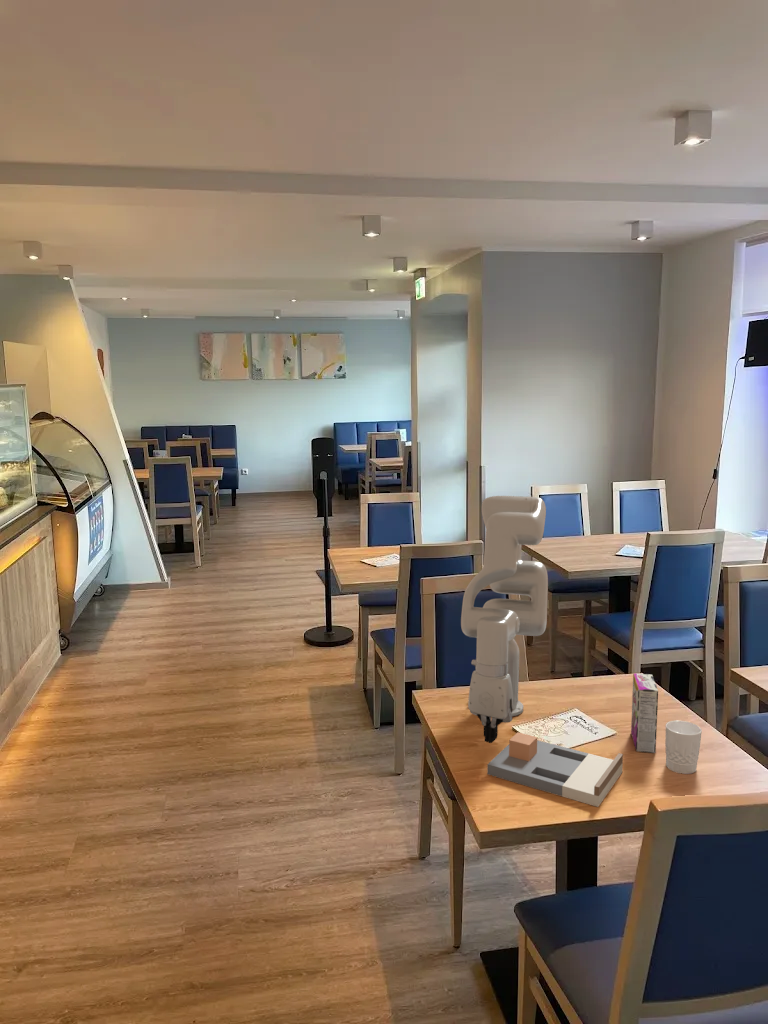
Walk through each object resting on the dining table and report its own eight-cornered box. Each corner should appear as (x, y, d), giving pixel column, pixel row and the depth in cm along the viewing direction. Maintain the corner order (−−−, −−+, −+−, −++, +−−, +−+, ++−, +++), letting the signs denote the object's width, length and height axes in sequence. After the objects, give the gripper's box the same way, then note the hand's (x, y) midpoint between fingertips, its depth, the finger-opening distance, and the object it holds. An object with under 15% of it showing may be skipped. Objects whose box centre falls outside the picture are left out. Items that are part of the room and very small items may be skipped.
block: (508, 755, 178) (509, 740, 178) (517, 747, 183) (517, 732, 182) (528, 761, 176) (529, 745, 175) (536, 752, 180) (537, 737, 179)
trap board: (487, 774, 175) (487, 756, 174) (518, 744, 190) (518, 727, 189) (598, 807, 161) (599, 787, 160) (622, 772, 176) (623, 754, 175)
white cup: (658, 759, 182) (660, 720, 180) (691, 759, 182) (694, 720, 180) (670, 775, 174) (672, 734, 173) (704, 775, 174) (707, 735, 172)
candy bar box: (629, 732, 196) (632, 672, 194) (649, 734, 195) (652, 673, 193) (634, 752, 186) (638, 688, 183) (656, 754, 185) (659, 690, 182)
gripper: (456, 666, 182) (455, 738, 184) (514, 679, 173) (512, 754, 176) (471, 658, 188) (469, 728, 190) (527, 669, 180) (525, 742, 182)
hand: (490, 740), depth 183 cm, fingers closed
